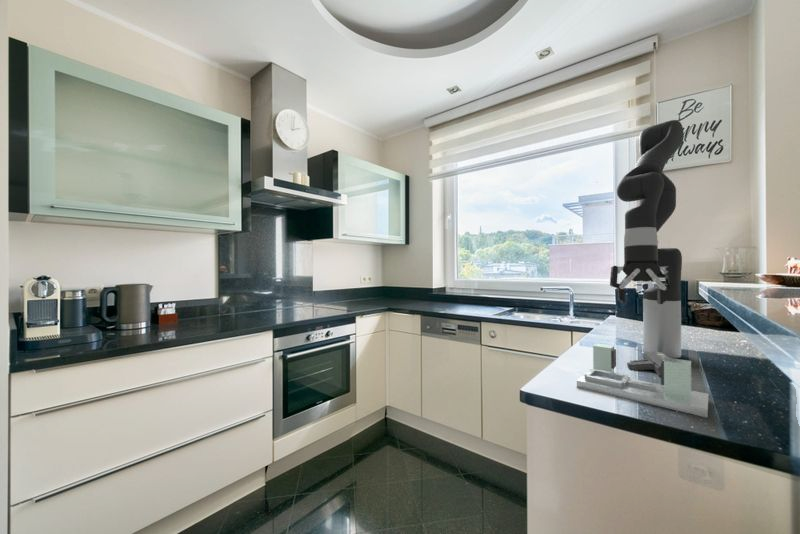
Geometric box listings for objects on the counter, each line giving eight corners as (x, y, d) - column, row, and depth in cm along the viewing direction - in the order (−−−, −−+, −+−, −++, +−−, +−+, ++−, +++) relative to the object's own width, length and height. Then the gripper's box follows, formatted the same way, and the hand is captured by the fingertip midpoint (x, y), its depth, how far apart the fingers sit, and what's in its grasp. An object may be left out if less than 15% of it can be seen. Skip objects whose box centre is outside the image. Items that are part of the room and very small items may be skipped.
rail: (588, 375, 82) (588, 342, 82) (708, 401, 66) (708, 360, 66) (576, 386, 75) (576, 350, 75) (707, 417, 59) (707, 371, 59)
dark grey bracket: (630, 366, 83) (680, 365, 78) (621, 351, 97) (662, 350, 92) (633, 380, 82) (683, 380, 78) (623, 363, 97) (664, 362, 92)
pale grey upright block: (596, 368, 87) (596, 343, 87) (616, 372, 84) (616, 346, 84) (593, 372, 85) (593, 345, 85) (613, 376, 82) (613, 348, 82)
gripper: (667, 246, 90) (668, 304, 89) (607, 247, 96) (608, 301, 95) (678, 243, 83) (679, 305, 82) (613, 244, 89) (613, 302, 88)
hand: (641, 303), depth 89 cm, fingers open, 8 cm apart
